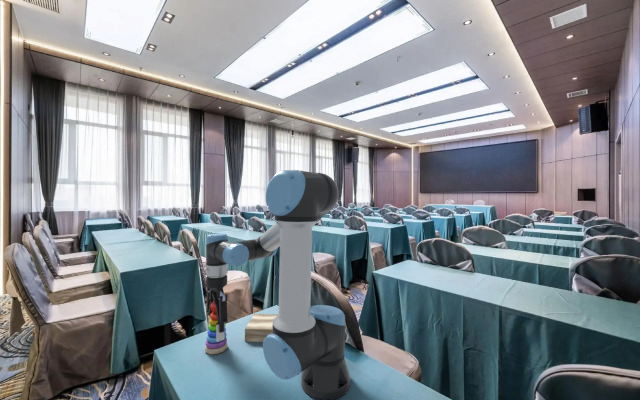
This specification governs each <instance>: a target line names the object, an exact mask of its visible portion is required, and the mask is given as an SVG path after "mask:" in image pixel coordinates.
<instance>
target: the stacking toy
mask: <svg viewBox="0 0 640 400" xmlns="http://www.w3.org/2000/svg"><path fill="white" fill-rule="evenodd" d="M216 302H219V301H216ZM211 310H212V313H211V315H210V317H211V319H210V320H209V319H208V330H207V335H206V340H205V346H204V352H206V353H207V354H209V355H218V354H221V353H223V352H225V350H227V348H228V343H227V342H228V341H227V339H228V338H227V332H226V331H227V329H226V327H225V329H224V340H221V341H218V342H217V341H216V323H218V321H217V313H216V305H215V304H214V301H213V302H212V304H211ZM209 323H210V324H209ZM225 326H226V323H225Z"/></svg>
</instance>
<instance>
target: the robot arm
mask: <svg viewBox="0 0 640 400" xmlns="http://www.w3.org/2000/svg"><path fill="white" fill-rule="evenodd" d="M339 193H340V191H339V188H338V185H337V182H336V181H335V180H334V179H333V178H332V177H331V176H330V175H328V174H326V173H321V172H312V171H305V170H299V169H297V170H295V169H292V170H291V169H286V170H281V171H279V172H277V173H276V174H274V175H273V177H272V178H271V179H270V181H269V182H268V184H267V187H266V190H265V203H266V206H267V210H268V211H269V212H270V213H271V214H272V215H274V222H275V223H274V224H273V225H271V226H270V227H269V228H268V229H267V230H266V231H265V232H264V233H262V234H261V235H260V236H259V237H257V238H254V239H247V240H240V241H229V238H228V237H229V236H228V235H227V233H223V232H222V233H220V232H219V233H210V234H208V235H207V236H206V242H205V268H204V271H205V275H206V277H205V287H206V308H205V309H206V310H205V311H206V313H207V315H208V321H209V320H210V319H211V317H210V315H211V313H212V310H211V304H212V302H213V301H214V304H215V305H216V313H217V321H218V323H216V341H217V342H218V341H221V340H224V329H225V328H226V325H225V324H226V323H228V321H229V320H228V295H227V294H225V292H224V287H226V286H228V269H229V267H228V266H231V267H232V266H233V267H234V266H235V267H241V266H243V265H244V264H245V263H247V262H251V261H256V260H259V259H267V258H270V257H272V256H275V255H276V254H277V252H278V248H279V271H278V274H279V277H278V282H279V283H278V315H277V316H276V317H275V318H274V320H273V332H272V334H269V335H268V336H267V337H266V338H265V339H264V342H262V351H263V356H264V358H265V359H264V360H265V361H266V364H267V365H268V367H269V369H270V371H271V372H272V373H273V374H274V375H275V376H276V377H277V378H279V379H281V380H287V381H288V380H291V379H293V378H294V377H296V376H299V375H300V374H301V376H300V379H301V380H300V385H301V388H302V390H303V391H304V393H305V394H306V395H308V396H309V397H311V398H314V399H317V400H319V399H320V400H327V399H333V400H336V399H335V398H337V399H340V398H341V396H342V397H343V396H344V394H345V393H346V392H349V389H350V387H351V376H350V371H349V368H348V366H347V362H346V358H345V351H346V349H345V347H346V325H347V324H346V315H345V314H344V311H342V310H341V309H340V308H338V307H335V306H332V305H325V304H316V305H315V304H314V305H311V298H312V297H311V293H312V292H311V291H312V290H311V289H312V286H311V285H312V251H313V247H312V246H313V245H312V244H313V243H312V242H313V241H312V240H313V227H315V225H316V224H317V223H318V222H319V220H321V219H322V218H323V217H325V216H326V215H327V214H329V213H330V212H331V211H332V210H333V209H334V208H335V206H336V205H337V203H338V200H339ZM216 301H219V302H216ZM209 324H210V323H209V322H208V325H209ZM346 394H347V393H346ZM346 394H345V395H346ZM339 397H340V398H339Z"/></svg>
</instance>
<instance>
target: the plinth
mask: <svg viewBox="0 0 640 400" xmlns="http://www.w3.org/2000/svg"><path fill="white" fill-rule="evenodd" d="M278 314H279V313H278ZM278 314H277V313H276V314H274V313H272V314H271V313H270V314H269V313H253V315H252V317H251V318H250V320H249V321H248V323H247V325H246V326H245V327H244V342H245V343H247V342H249V343H263V342H264V339H265V338H266V337H267V336H268V335H269V334H272V332H273V320H274V318H275V317H276V316H277V315H278Z"/></svg>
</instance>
